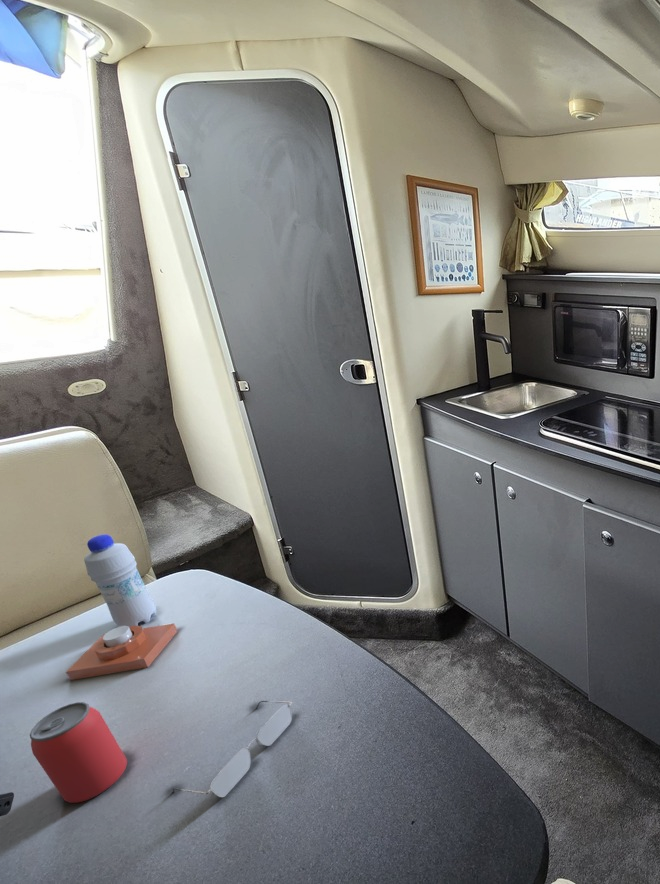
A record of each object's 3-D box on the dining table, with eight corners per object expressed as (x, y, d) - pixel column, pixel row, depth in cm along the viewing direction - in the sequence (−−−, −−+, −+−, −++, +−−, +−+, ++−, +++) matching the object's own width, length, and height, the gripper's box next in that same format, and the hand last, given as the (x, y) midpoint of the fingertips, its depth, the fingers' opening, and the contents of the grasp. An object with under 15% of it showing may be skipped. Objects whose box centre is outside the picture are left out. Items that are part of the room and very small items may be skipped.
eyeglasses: (216, 809, 65) (204, 788, 64) (171, 799, 67) (158, 778, 66) (299, 716, 78) (290, 697, 76) (259, 709, 80) (250, 691, 78)
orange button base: (71, 681, 86) (60, 664, 84) (108, 643, 94) (99, 626, 93) (148, 668, 88) (140, 651, 86) (178, 632, 96) (170, 615, 95)
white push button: (101, 649, 88) (97, 641, 87) (115, 634, 91) (111, 627, 90) (124, 645, 88) (120, 638, 88) (137, 631, 92) (134, 624, 91)
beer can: (65, 781, 69) (25, 720, 65) (127, 748, 74) (94, 689, 69) (64, 817, 65) (21, 754, 61) (130, 780, 69) (94, 719, 65)
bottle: (108, 630, 97) (63, 545, 90) (144, 607, 103) (105, 525, 96) (133, 635, 96) (89, 549, 88) (168, 611, 102) (130, 529, 94)
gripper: (-88, 789, 44) (78, 754, 60) (-276, 825, 42) (-52, 778, 58) (-122, 896, 41) (62, 829, 57) (-325, 940, 39) (-76, 858, 55)
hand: (4, 803), depth 57 cm, fingers closed
